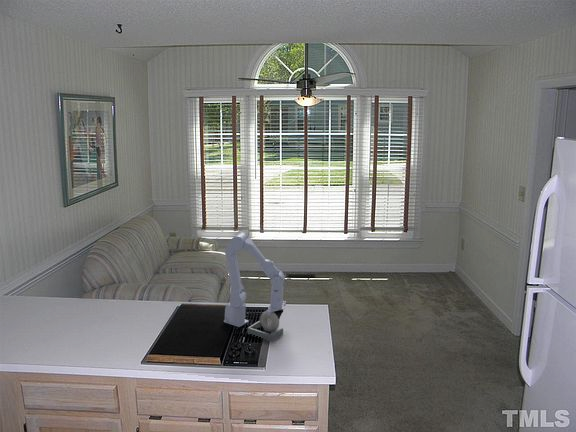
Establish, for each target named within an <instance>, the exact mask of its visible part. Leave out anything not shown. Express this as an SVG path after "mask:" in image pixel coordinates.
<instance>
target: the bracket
mask: <svg viewBox="0 0 576 432" xmlns="http://www.w3.org/2000/svg"><path fill="white" fill-rule="evenodd" d="M257 328H258V329H257ZM259 328H261V323H260V320H258V321H256V322H254V323H253V324H252V325H249V326H248V327H247V333H248V335H250V334H252V335H251V336H253V335H255V336H254V337H256V336H258V337H257V338H259V337H261V338H260V339H262V338H264V339H263V340H265V339H266V340H265V341H267V342H268V341H269V342H271V343H273V342H275V341H276V340H277V339H279V338H280V337H281V336H284V328H283V327H281V328H280V329H279V330H278V329H277V331H276V332H274V333H273V334H271V333H268V332H265V331H263V330H259Z"/></svg>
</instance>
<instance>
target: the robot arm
mask: <svg viewBox="0 0 576 432" xmlns="http://www.w3.org/2000/svg"><path fill="white" fill-rule="evenodd" d="M239 250H241V252H248V253H249V254H250V255H251V256H252V257H253V258H254V259H255V260H256V261H257V262H258V263H259V264H260V269H261V270H262V272H263V273H264V274H265V275H266V277H268V279H269V281H270V284H271V289H270V304H269V307H268V309H266V310H265V311H266V314H267V315H271V312H274V313H275V314H276V315H277V316H278V319H279V320H280V319H281V316H282V314H283V312H284V310H285V307H286V306H287V301H286V300H284V282H285V280H286V275H285V274H284V272H283V271H281V270H280V269H278V268H277V266H275V263H274V261H273V260H270V259H267V258H266V257H265V256H264V255H263V253H262V252H261V251H260V249H258V247H257V246H256V244H255V243H254V241H253V239H252V238H251V237H250V236H249V235H248V234H247V233H246V232H245V231H239V232H238V233H237V234H235V235H234V236H233V237H232V238H231V239H230V240H229V241H228V244H227V246H226V248H225V250H224V254H225V255H224V256H225V259H226V266H227V271H228V272H227V273H228V277H229V278H228V279H229V285H230V292H229V296H230V298H229V300H228V301H229V302H228V303H227V304H226V305H225V307H224V320H223V322H224V323H225V324H229V325H232V326H235V327H237V328H240V327H242V326H244V325H246V324H247V323H249V320H248V319H246V308H247V307H246V304H247V303H246V302H245V301H246V299H247V297H248V293H247V292H246V290H245V287H244V285H243V284H242V278H241V272H240V266H239V260H238V255H237V254H238V253H239Z"/></svg>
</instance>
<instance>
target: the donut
mask: <svg viewBox="0 0 576 432" xmlns="http://www.w3.org/2000/svg"><path fill="white" fill-rule="evenodd" d="M268 319H270V320H271V323H269V322H268ZM259 321H260V326H261V327H262V328H263V329H264V330H265V331H267V332H270V333H273V332H275V331H276V330H277V331H278V328H279V326H280V319H278V316H277V315H276V314H275V313H274V312H271V315H267V314H266V310H265V311H263V312H262V313H261V315H260V319H259Z"/></svg>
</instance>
